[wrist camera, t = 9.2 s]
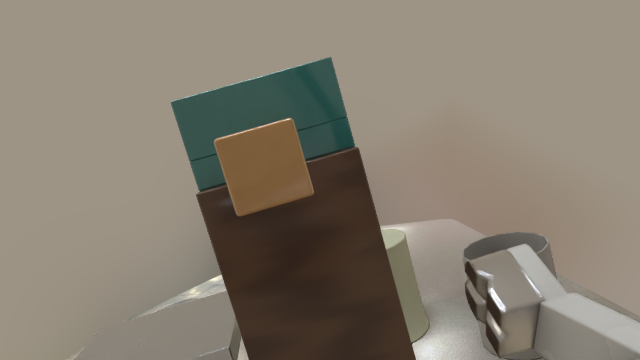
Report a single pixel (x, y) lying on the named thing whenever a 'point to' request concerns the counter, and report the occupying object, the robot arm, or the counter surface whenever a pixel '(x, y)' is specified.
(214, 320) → the scale
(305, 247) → the plinth
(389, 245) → the can
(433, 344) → the counter surface
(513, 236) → the cup
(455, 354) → the counter surface
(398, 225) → the counter surface
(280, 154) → the teal handled box
